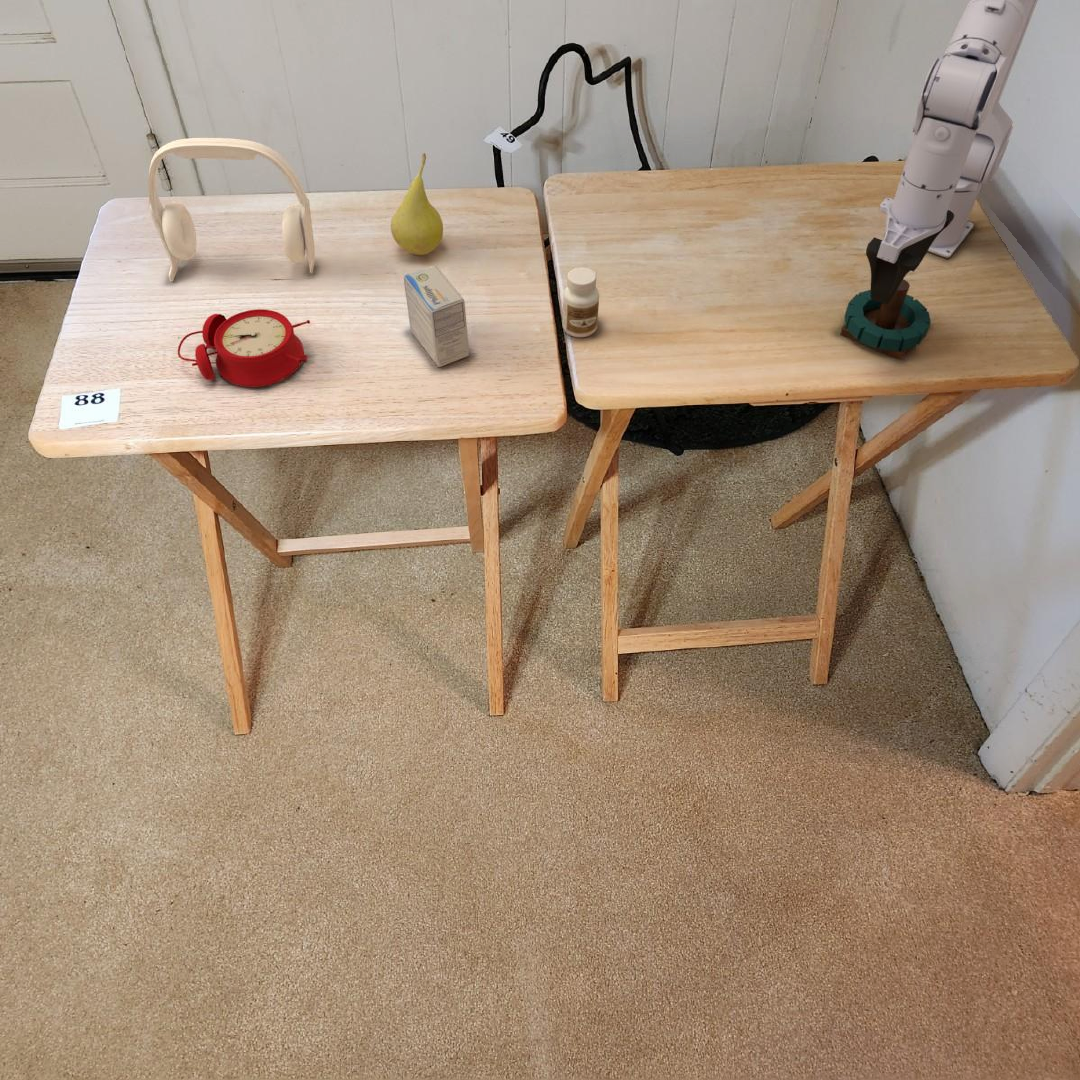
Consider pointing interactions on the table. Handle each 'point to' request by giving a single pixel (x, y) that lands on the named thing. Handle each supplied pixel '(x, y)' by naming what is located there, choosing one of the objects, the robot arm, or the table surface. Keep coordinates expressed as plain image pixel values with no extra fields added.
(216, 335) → the alarm clock
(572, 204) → the table surface
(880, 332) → the ring
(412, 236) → the fruit
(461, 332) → the medicine box
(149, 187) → the headset
